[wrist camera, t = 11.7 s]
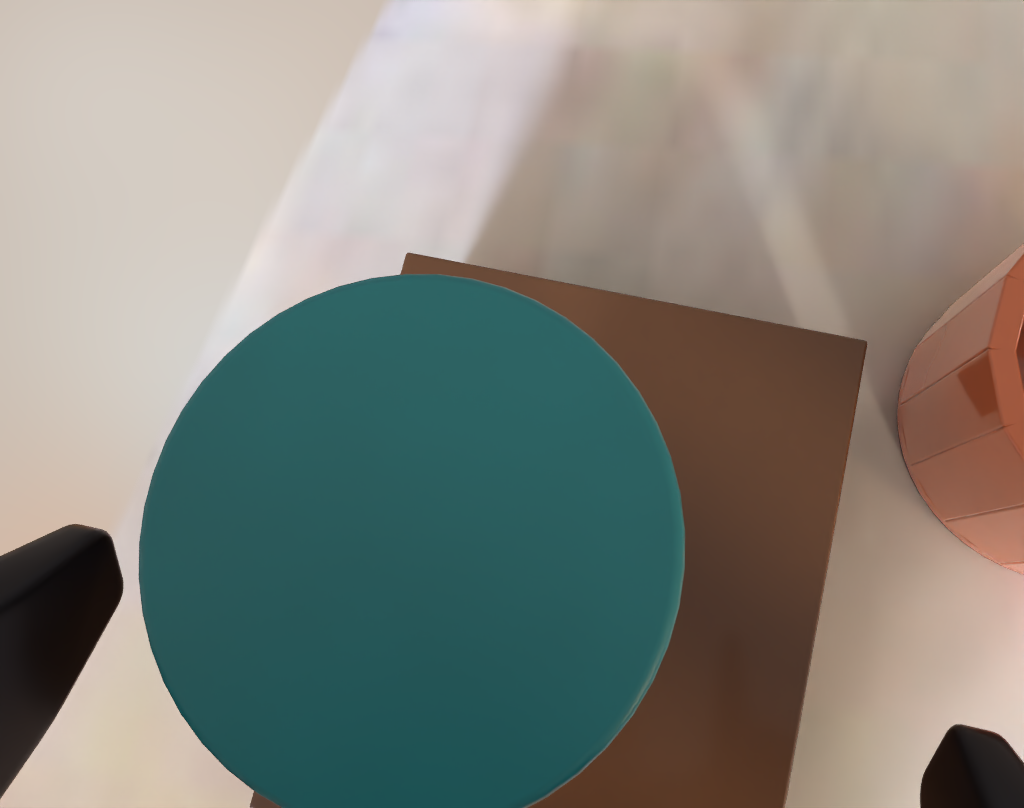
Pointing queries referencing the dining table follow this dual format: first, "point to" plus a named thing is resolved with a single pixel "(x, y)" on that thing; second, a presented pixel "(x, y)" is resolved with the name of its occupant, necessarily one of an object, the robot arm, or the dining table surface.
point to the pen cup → (972, 415)
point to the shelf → (719, 537)
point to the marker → (412, 550)
